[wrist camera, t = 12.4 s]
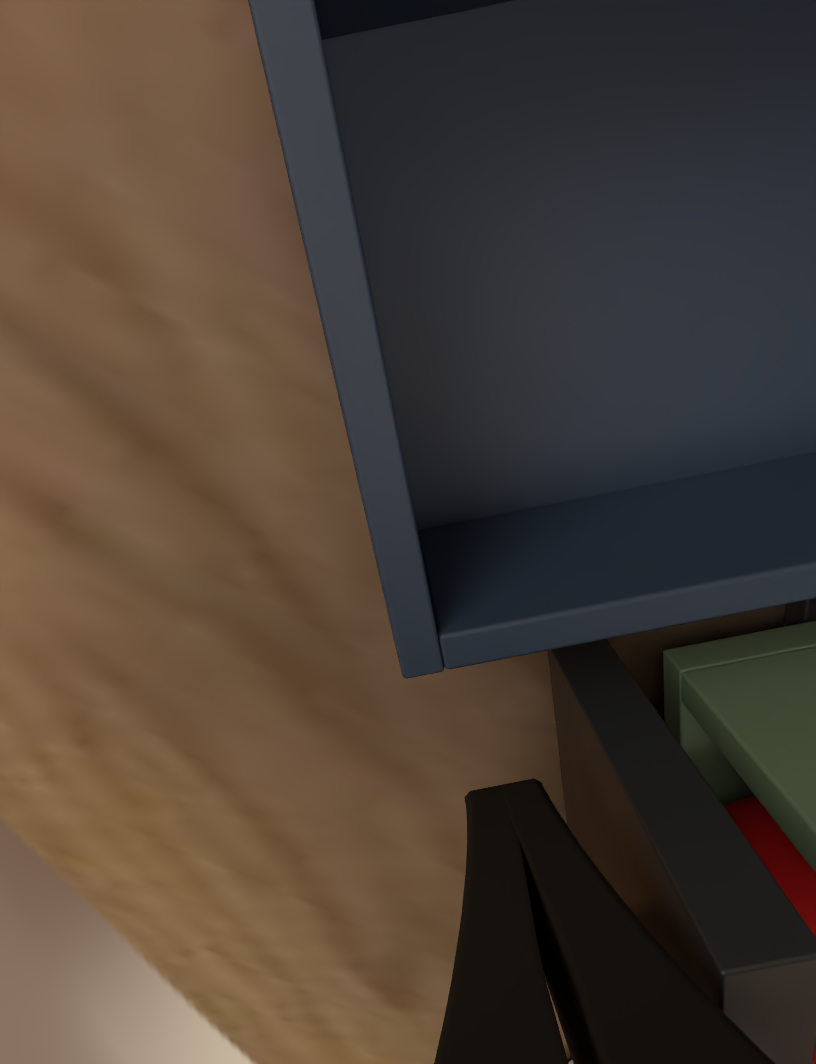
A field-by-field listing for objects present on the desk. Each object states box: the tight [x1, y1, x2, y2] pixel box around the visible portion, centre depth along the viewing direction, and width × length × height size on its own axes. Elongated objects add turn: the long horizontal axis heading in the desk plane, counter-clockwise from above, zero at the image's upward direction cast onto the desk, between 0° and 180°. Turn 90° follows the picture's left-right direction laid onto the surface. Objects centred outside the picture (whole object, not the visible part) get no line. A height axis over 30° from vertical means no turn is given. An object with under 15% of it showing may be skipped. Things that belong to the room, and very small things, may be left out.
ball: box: [724, 795, 816, 1064], centre depth 11 cm, size 5×5×5 cm
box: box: [248, 0, 816, 679], centre depth 9 cm, size 13×9×5 cm
